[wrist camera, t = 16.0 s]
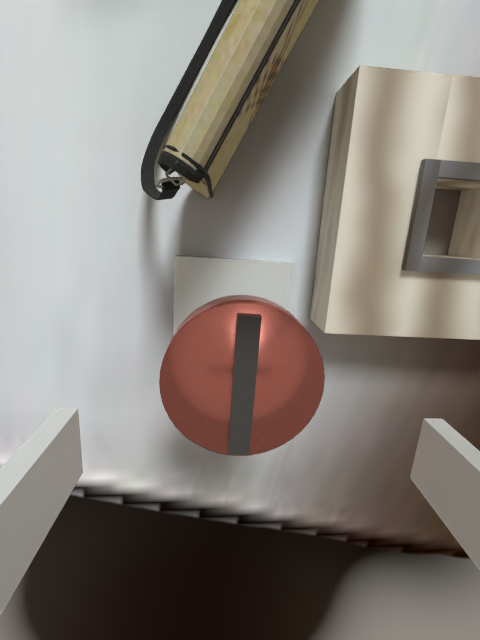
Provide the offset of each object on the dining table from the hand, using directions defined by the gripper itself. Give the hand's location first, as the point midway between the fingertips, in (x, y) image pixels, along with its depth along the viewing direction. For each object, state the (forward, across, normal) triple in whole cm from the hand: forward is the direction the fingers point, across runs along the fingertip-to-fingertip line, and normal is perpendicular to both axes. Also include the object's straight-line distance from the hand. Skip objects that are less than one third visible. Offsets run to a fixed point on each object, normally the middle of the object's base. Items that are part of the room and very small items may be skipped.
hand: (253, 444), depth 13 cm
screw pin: (+20, 0, 0) cm, 20 cm away
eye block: (+21, +18, +10) cm, 29 cm away
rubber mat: (+21, 0, 0) cm, 21 cm away
